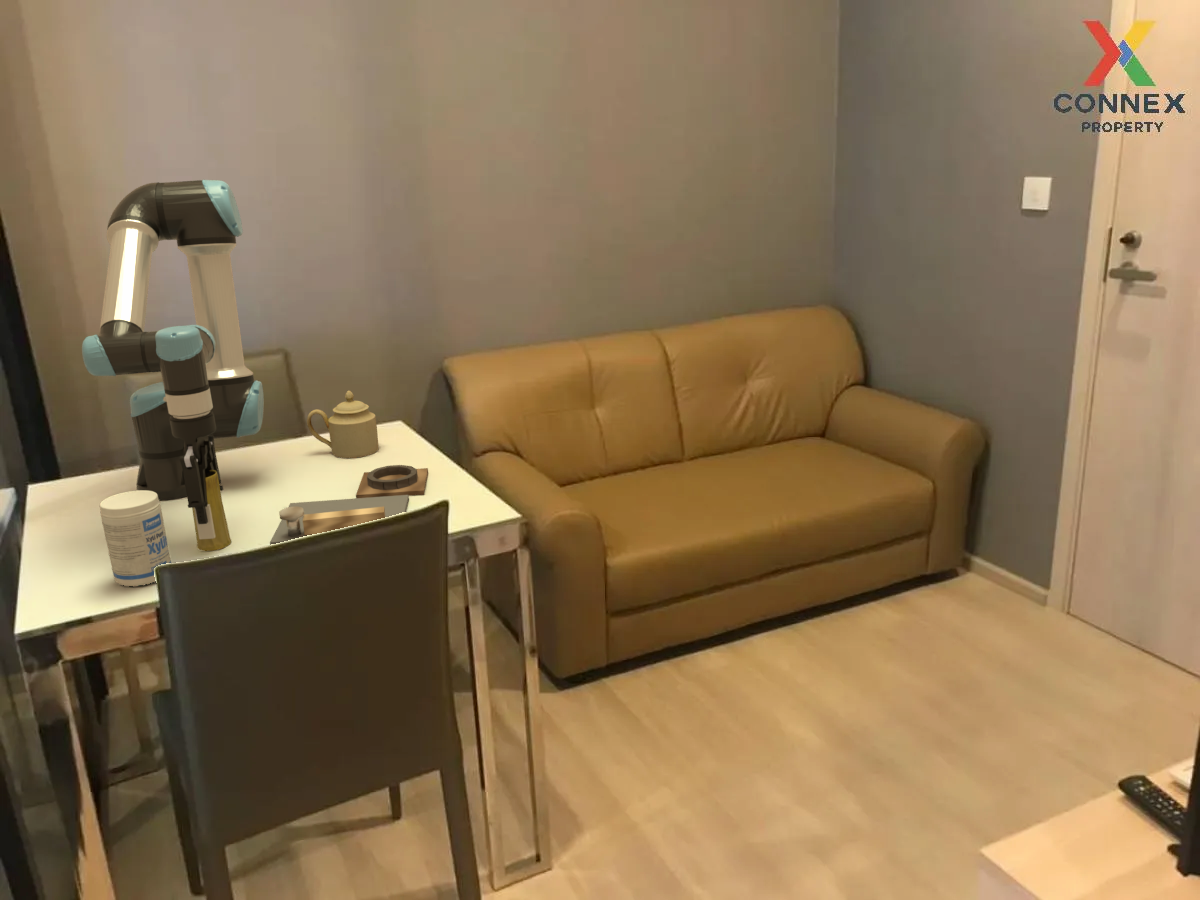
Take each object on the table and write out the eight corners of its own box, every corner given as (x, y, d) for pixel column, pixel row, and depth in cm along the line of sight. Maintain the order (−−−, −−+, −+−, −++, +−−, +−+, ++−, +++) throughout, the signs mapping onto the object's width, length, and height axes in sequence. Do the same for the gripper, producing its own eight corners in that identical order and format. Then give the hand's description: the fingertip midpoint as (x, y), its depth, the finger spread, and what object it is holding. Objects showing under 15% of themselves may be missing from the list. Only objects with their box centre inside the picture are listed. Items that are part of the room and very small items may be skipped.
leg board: (270, 547, 188) (269, 542, 187) (291, 507, 206) (290, 503, 206) (400, 537, 190) (399, 532, 189) (408, 499, 208) (408, 494, 208)
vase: (237, 538, 192) (225, 468, 188) (222, 552, 186) (210, 479, 182) (206, 538, 193) (194, 468, 188) (191, 551, 187) (178, 480, 182)
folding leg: (281, 539, 188) (277, 516, 186) (283, 530, 192) (280, 507, 191) (385, 528, 191) (382, 505, 190) (385, 519, 195) (383, 497, 194)
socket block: (356, 499, 209) (354, 486, 209) (364, 476, 223) (363, 464, 222) (424, 494, 211) (422, 482, 210) (428, 472, 224) (427, 460, 223)
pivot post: (287, 537, 189) (284, 519, 188) (289, 532, 191) (286, 514, 190) (300, 536, 189) (297, 518, 188) (302, 531, 192) (299, 513, 190)
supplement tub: (168, 584, 174) (152, 505, 169) (109, 592, 172) (92, 512, 167) (177, 561, 183) (162, 486, 178) (121, 568, 181) (105, 492, 176)
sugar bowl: (326, 465, 231) (318, 402, 226) (309, 454, 239) (301, 393, 235) (386, 451, 239) (379, 390, 234) (368, 440, 247) (361, 381, 243)
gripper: (184, 400, 190) (204, 514, 197) (153, 429, 172) (176, 553, 180) (225, 398, 190) (244, 511, 198) (198, 426, 173) (219, 550, 180)
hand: (211, 531), depth 189 cm, fingers closed on vase, 5 cm apart
